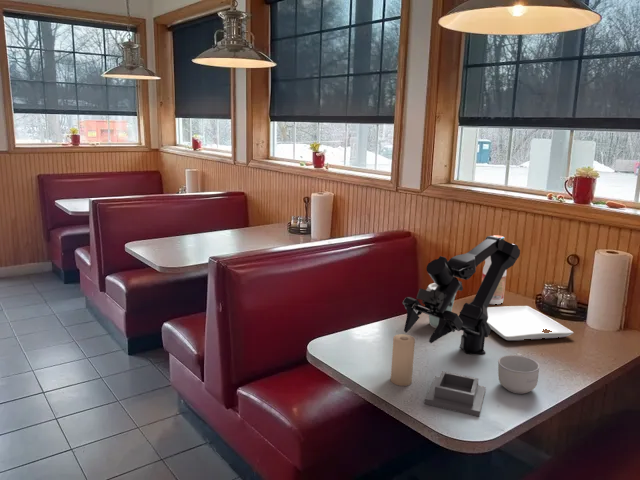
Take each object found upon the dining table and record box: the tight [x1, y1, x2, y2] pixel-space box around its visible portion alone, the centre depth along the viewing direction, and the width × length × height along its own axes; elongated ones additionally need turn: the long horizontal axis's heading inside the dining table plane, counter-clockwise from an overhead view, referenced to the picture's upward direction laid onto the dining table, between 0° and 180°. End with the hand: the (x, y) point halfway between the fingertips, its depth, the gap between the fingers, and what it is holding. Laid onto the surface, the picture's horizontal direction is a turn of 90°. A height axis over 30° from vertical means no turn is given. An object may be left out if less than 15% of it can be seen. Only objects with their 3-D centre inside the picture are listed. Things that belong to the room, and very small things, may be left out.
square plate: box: [487, 305, 574, 341], centre depth 193 cm, size 27×27×4 cm
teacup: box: [497, 352, 541, 395], centre depth 148 cm, size 14×11×8 cm
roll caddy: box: [424, 370, 487, 418], centre depth 141 cm, size 14×14×4 cm
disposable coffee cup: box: [425, 282, 457, 329], centre depth 191 cm, size 11×11×15 cm
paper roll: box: [390, 333, 416, 387], centre depth 149 cm, size 6×6×13 cm
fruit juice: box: [481, 235, 508, 305], centre depth 218 cm, size 9×9×28 cm
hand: (417, 337), depth 151 cm, fingers open, 9 cm apart
